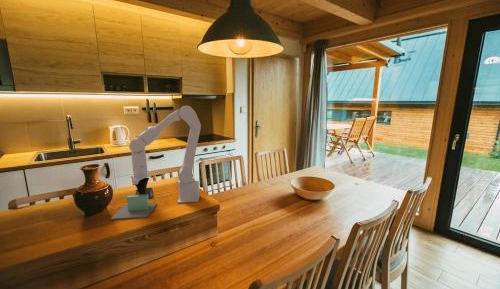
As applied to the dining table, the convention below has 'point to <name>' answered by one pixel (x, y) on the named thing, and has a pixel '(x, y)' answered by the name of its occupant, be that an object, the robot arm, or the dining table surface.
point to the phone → (148, 191)
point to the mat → (133, 213)
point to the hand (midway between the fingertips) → (142, 194)
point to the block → (138, 202)
